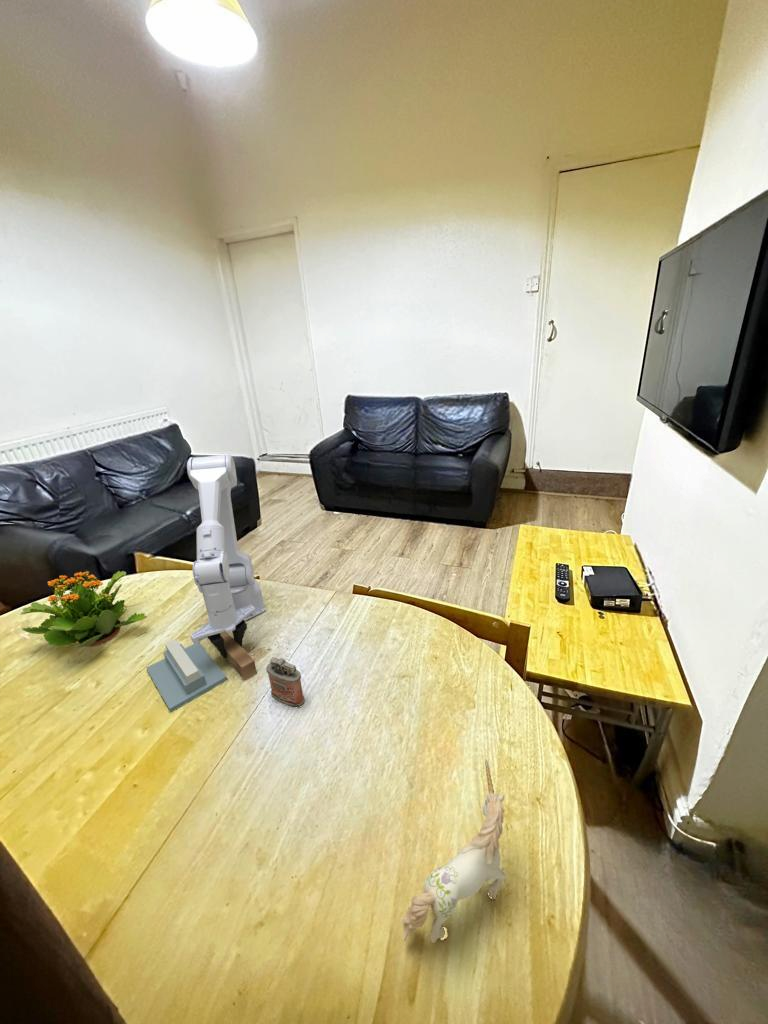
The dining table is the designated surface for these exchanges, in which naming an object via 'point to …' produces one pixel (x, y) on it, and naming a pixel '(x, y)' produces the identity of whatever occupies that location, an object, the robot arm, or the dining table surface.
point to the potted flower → (81, 612)
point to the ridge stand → (184, 674)
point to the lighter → (285, 682)
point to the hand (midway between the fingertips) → (231, 652)
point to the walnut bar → (238, 657)
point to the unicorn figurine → (462, 872)
